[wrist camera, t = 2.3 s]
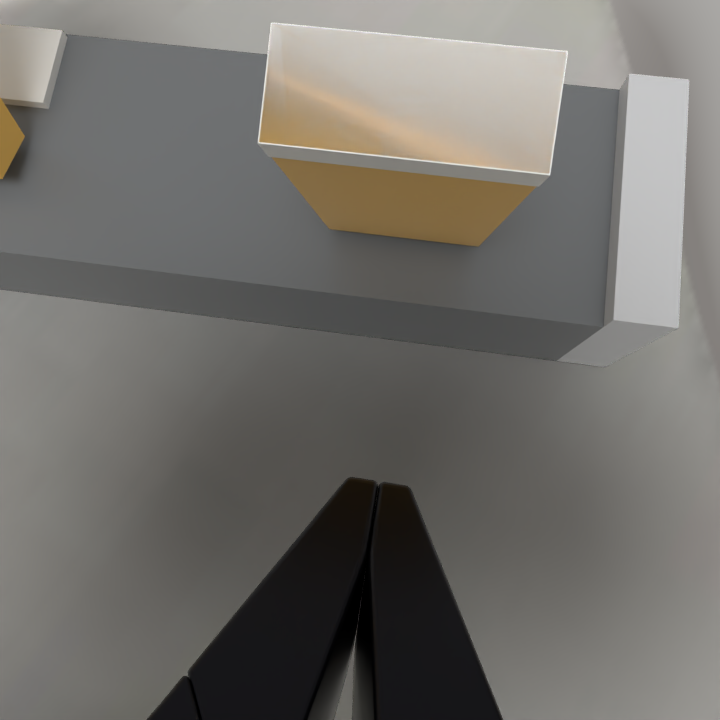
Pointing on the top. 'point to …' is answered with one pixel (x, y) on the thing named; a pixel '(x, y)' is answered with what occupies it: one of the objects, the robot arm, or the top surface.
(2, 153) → the outlet rocker
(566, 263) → the power strip
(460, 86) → the outlet rocker
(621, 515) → the top surface
